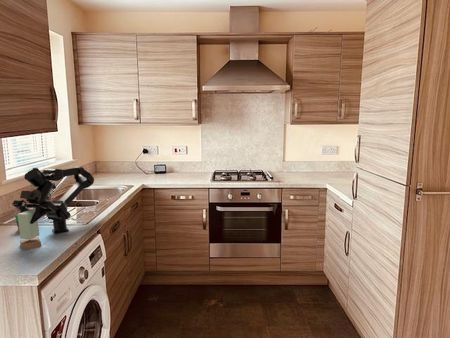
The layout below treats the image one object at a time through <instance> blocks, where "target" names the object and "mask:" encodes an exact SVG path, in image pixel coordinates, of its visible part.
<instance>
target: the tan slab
mask: <svg viewBox="0 0 450 338" xmlns="http://www.w3.org/2000/svg"><path fill="white" fill-rule="evenodd" d="M19 243H20V247H21V250H22V251H25V250H28V249H29V250H30V249H35V248H37V247H41V246H42V242H41V239H40V238H39V236H37V237H35V238H32V239H20V240H19Z"/></svg>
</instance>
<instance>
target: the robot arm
mask: <svg viewBox="0 0 450 338" xmlns="http://www.w3.org/2000/svg"><path fill="white" fill-rule="evenodd" d="M70 176H73V178H74V180H75V181H74V184H73V185H72V186H71V187H70V188H69V189H68V190H67V192H66V193H64V195H62V197H60V199H52V200H51V201H50V200H49V199H50V197H49V195H50V193H51V191H52V190H56V189H57V186H56V185H55V184H56V183H54V182H57V181H61V180H62V179H64V178H65V177H70ZM23 177H24V179H25V181H27V182H28V183H29V184H30V185H32V186H33V187H35V189H33V190H21V191H20V195H19V196H20V197H19V198H20V199H15V200H13V202H12V203H11V206H13V207H15V209H17V210H18V211H20V213H22V212H25V211H29V208H35V213H34V215H33V217H32V219H31V221H30V224H33V223H34V222H36V221H37V220H38V221H39V220H40V219H41V218H43V217H44V216H45V215H46V217H47V219H48V220H50V221H51V220H52V225H53V229H51V231H52V233H53V234H61V233H64V232H68V231H70V229H69V227H67V220H69V219H70V218H71V213H70V212H69V211H68V206H69V205H70V204H71V203H72V202H73V200H75V199H76V198H77V196H78V195H80V194H81V193H82V191H83V190H84V189H88V188H90V187H91V186H92V185H93V184H94V183H95V177H94V176H93V175H92V173H91V172H88V171H87V170H86V169H85V168H84V167H82V166H72V167H67V168H45V169H43V171H41V170H40V169H39V168H38V167H32V169H31V170H28V171H27V172H25V174H24V176H23ZM23 199H24V200H23Z"/></svg>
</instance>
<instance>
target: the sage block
mask: <svg viewBox="0 0 450 338" xmlns="http://www.w3.org/2000/svg"><path fill="white" fill-rule="evenodd" d="M34 213H35V211H25V212H22V213H19V214H17V215H18V223H19V230H18V231H19V236H20V237H19V238H20V240H25V239H32V238H35V237H39V236H40V229H39V223H38V222H39V219H38V220H37V221H36V222H34V223H33V224H30V221H31V219H32V217H33V215H34Z"/></svg>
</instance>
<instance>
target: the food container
mask: <svg viewBox="0 0 450 338" xmlns="http://www.w3.org/2000/svg"><path fill="white" fill-rule="evenodd" d="M29 211H35V208H29ZM19 213H20V210H17V211H16V210H15V211H13V216H14V217H15V222H16V226H17V230H18V231H19V223H18V215H17V214H19Z"/></svg>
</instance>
